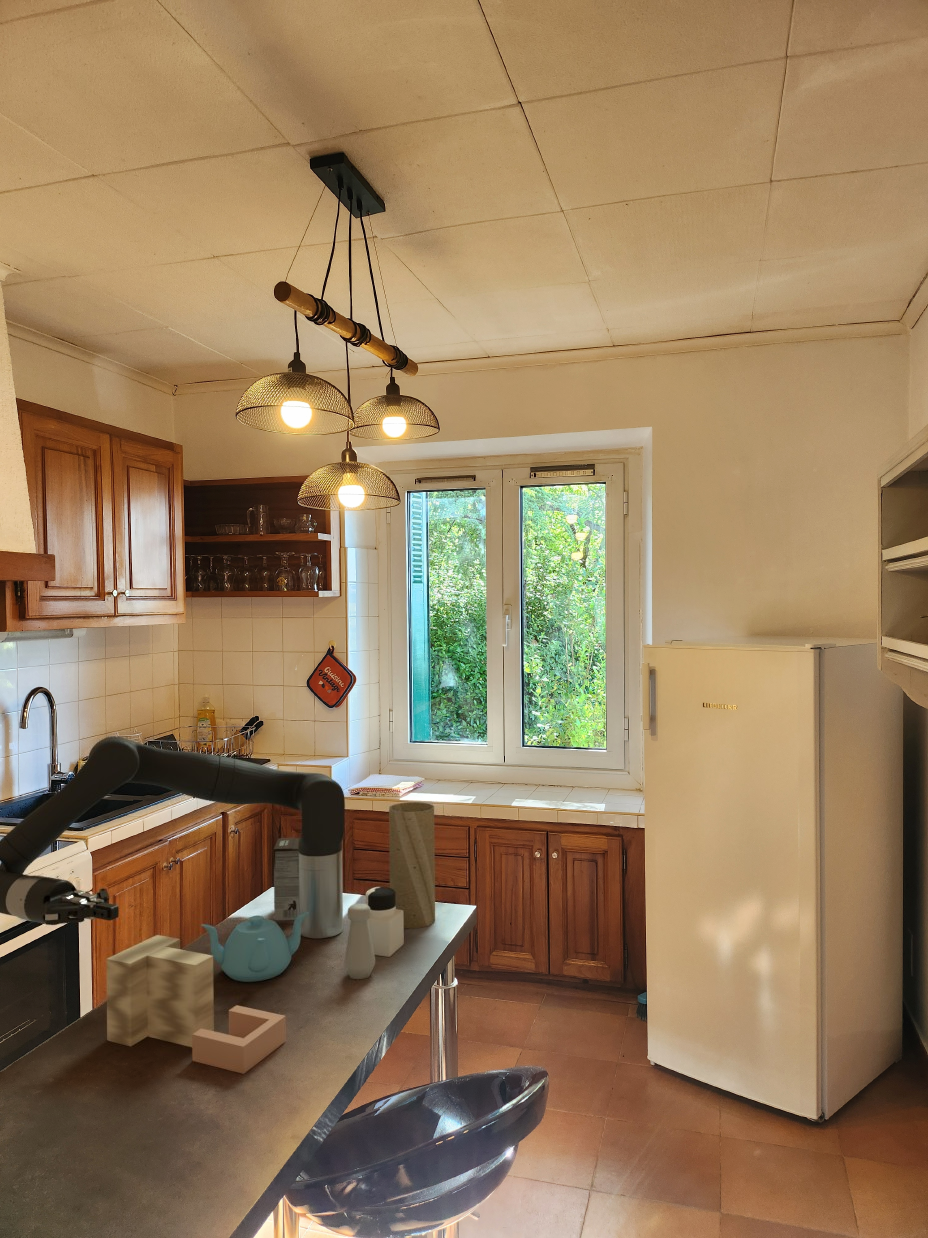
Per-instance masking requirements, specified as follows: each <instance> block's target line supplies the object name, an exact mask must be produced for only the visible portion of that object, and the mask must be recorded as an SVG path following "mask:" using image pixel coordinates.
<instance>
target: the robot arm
mask: <svg viewBox="0 0 928 1238" xmlns="http://www.w3.org/2000/svg"><path fill="white" fill-rule="evenodd" d="M127 783H132V784H144V785H145V784H146V785H152V786H158V787H162V788H165V789H168V790H169V791H170V790H171V791H174V792H176V793H180V794H182V795H185V796H188V797H191V798H194V799H195V798H196V799H199V800H203V801H209V802H214V803H221V804H227V805H254V804H255V805H256V804H270V805H276V806H281V807H285V808H290V809H292V810H296V811H299V812H301V833H300V836H299V838H300V839H299V842H298V851H299V915H301V914H303V913H305V912H309V913H308V914H307V915H306V916H305V917H304V919H303V921H302V923H301V936H302V937H305V938H309V939H325V938H331V937H334V936H337V935H339V934H341V933H342V932H343V929H344V924H343V923H344V917H343V916H344V915H343V913H344V912H343V911H344V908H343V907H344V906H343V902H344V901H343V900H344V899H343V896H344V895H343V891H344V890H343V840H344V838H345V830H346V829H345V825H346V824H345V818H346V800H345V793H344V790H343V788H342V786H341V785H340V784H339V783H338V782H337V781H336V780H335V779H333V778H331V777H330V776H328V775H326V774H324V773H320V772H303V771H289V770H282V769H281V770H280V769H277V768H276V769H275V768H273V767H272V768H271V767H270V766H269V767H267V766H265V765H262V764H258V763H254V762H251V761H246V760H242V759H237V758H233V757H228V756H227V757H226V756H221V755H217V754H208V753H201V752H192V751H183V750H182V751H179V750H169V749H163V748H158V747H155V746H151V745H147V744H143V743H140V742H137V741H133V740H131V739H128V738H124V737H121V736H108V737H105V738H103V739H101V740H99V741H97V742H96V743H94V745H93V747H92V748H91V749H90V751H89V753H88V758H87V760H86V762H85V763H84V764H83V765H82V767H81V768H80V769H79V770H78V772H77V773H76V774H74V776H73V777H72V778H71V780H69V781H68V782H67V784H65V785H64V786H63V788H61V789H60V790H59V791H57V792H56V793H55V794H54V795H53V796H52V797H50V798H49V799H47V800H46V801H45V802H43V803H42V804H41V805H40V806H38V807H37V808H36V809H35V810H33V811H32V812H31V813H29V814H28V815H27V816H25V817H24V818H23V819H22V820H21V821H20V822H19V823H18V824H17V825H15V826H14V827H13V828H12V829H11V830H10V831H9V832H7V834H6V835H5V836H3V837H2V838H1V839H0V914H3V915H6V916H7V915H8V916H12V917H17V918H18V919H21V920H23V921H24V920H25V921H29V922H34V923H39V924H43V925H46V926H56V925H62V924H63V925H64V924H74V923H82V922H84V921H85V920H90V921H91V920H94V919H99V920H104V921H109V922H110V921H114V920H116V919H118V918H119V917H120V916H119V914H120V913H119V912H120V911H119V909H120V908H119V905H118V904H113V903H110V895H109V893H108V890H107V888H104V887H103V888H100V889H99V890H98V891H97V892H96V893H95V894H93V893H92V894H91V893H90V892H89V891H85V890H82V889H81V890H79V889H77V887H75V885H74V884H73V882H71V881H70V880H66V879H61V878H57V877H55V878H54V877H49V876H44V875H36V874H35V875H28V874H25V871H26V870H27V868H28V867H29V866H30V865H32V863H33V862H34V861H36V860H37V859H38V858H39V857H40V856H41V855H42V854H43V853H44V852H45V851H46V850H47V849H48V848H49V847H51V846H52V844H54V843H55V842H56V840H58V839H59V838H60V837H61V836H62V835H63V834H64V833H65V831H67V830H68V829H69V828H70V827H71V826H72V825H73V824H74V823H75V822H76V821H77V820H78V819H79V818H80V817H81V816H82V815H84V814H85V813H86V812H88V811H89V810H90V809H91V808H92V807H93V806H94V805H96V804H97V803H98V802H100V801H101V800H103V799H104V798H105V797H106V796H109V795H110V794H111V793H113V792H114V791H115V790H117V789H118V788H120V787H122V785H125V784H127Z"/></svg>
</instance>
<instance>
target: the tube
mask: <svg viewBox="0 0 928 1238" xmlns="http://www.w3.org/2000/svg"><path fill="white" fill-rule="evenodd" d="M388 821H389V822H388V826H389V827H388V830H389V831H388V832H389V836H388V837H389V840H388V841H389V843H388V844H389V847H388V848H389V888H391V889H393V890H394V891H395V892H396V909H398V910H403V918H404V929H420V928H424V927H428V926H431V925H432V924H434V923H435V921H436V874H435V873H436V871H435V868H436V864H435V862H436V861H435V859H436V858H435V856H436V855H435V852H436V850H435V849H436V848H435V805H433V804H431V803H429V802H428V803H427V802H418V801H414V802H412V801H411V802H410V801H409V802H401V803H395V804H393V805H389V807H388Z"/></svg>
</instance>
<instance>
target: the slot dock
mask: <svg viewBox="0 0 928 1238" xmlns="http://www.w3.org/2000/svg"><path fill="white" fill-rule="evenodd" d="M286 1019H287V1016H286V1015H284V1014H278V1013H273V1012H269V1011H264V1010H260V1009H255V1008H251V1007H247V1006H241V1005H237V1004H236V1005H234V1006H233V1007H232V1008H230V1009H229V1010H228V1034H227V1033H223V1032H218V1031H215V1030H214V1031H210V1030H206V1029H202V1028H201V1029H200V1030H198V1031H197V1032H195V1033H194V1034H192V1047H191V1048H192V1049H191V1050H192V1051H191V1053H192V1062H196V1063H199V1064H204V1065H208V1066H212V1067H214V1068H215V1067H216V1068H219V1069H224V1070H227V1071H231V1072H235V1073H238V1074H246V1073H247V1072H248V1071H249V1070H251V1069H252V1068H254V1067H255V1066H256V1065H258V1063H260V1062H261V1061H262V1060H264V1059H265V1058H266V1057H267V1056H269V1055H270V1054H271V1053H273V1052H274V1051H275V1050H277V1048H279V1047H280V1046H281V1045H283V1044H284V1043H286V1042H287V1032H286V1031H287V1027H286V1026H287V1025H286V1023H287V1022H286V1021H287V1020H286Z"/></svg>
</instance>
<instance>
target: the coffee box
mask: <svg viewBox="0 0 928 1238" xmlns="http://www.w3.org/2000/svg"><path fill="white" fill-rule="evenodd" d="M299 839H300V837H297V838H296V837H282V838H281V837H280V838H277V840H276V843H275V845H274V848H273V903H274V904H273V908H274V909H273V911H274V913H273V914H274V919H273V921H295V919H296V918H297V917H298V916H299V851H298V842H299Z"/></svg>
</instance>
